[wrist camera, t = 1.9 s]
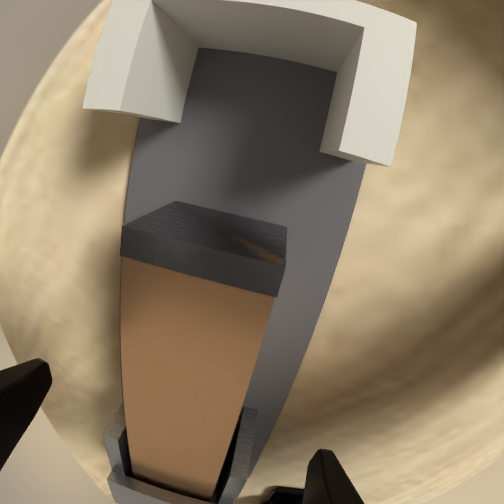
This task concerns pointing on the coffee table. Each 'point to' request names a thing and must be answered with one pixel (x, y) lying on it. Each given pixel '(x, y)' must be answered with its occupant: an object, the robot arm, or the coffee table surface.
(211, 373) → the tan wooden block
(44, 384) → the robot arm
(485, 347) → the coffee table surface
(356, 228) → the coffee table surface
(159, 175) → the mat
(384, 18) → the socket
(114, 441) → the sleeve
